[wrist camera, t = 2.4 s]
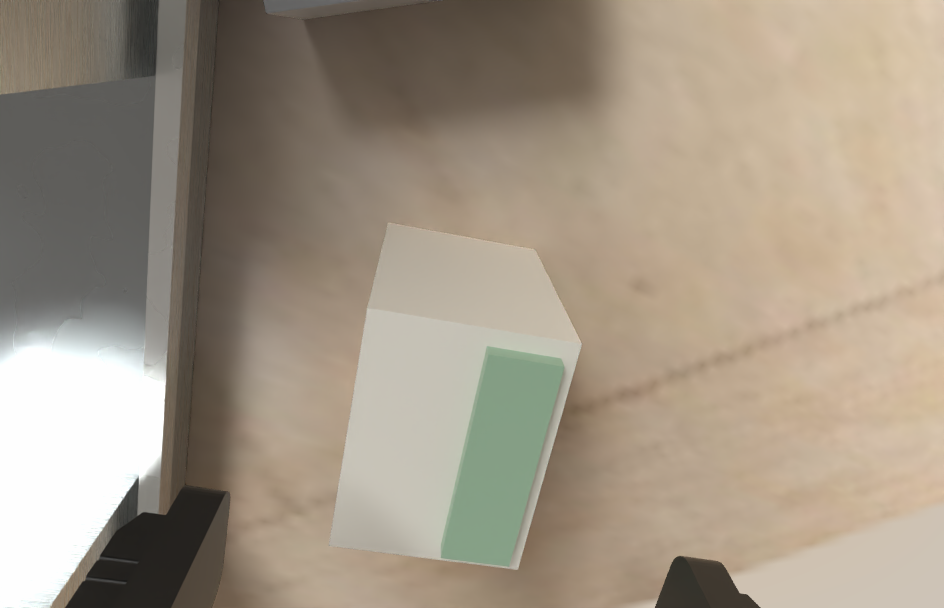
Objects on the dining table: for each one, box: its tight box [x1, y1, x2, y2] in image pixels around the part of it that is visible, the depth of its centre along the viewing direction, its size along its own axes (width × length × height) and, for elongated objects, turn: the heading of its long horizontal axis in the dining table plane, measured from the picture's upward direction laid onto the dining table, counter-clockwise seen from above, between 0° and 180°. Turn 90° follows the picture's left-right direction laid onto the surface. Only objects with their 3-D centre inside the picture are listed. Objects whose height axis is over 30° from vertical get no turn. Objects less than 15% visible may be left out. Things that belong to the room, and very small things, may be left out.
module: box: [329, 222, 582, 570], centre depth 18 cm, size 6×4×7 cm
